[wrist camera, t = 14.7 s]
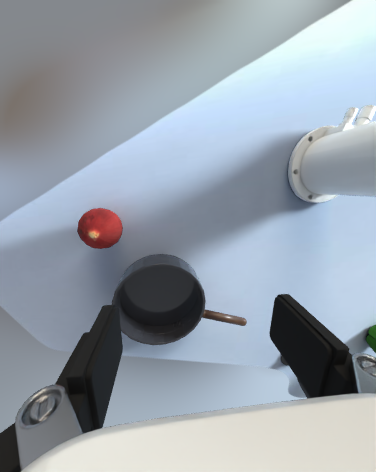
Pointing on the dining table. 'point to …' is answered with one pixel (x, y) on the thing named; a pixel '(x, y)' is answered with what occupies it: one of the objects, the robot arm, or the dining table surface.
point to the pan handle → (224, 317)
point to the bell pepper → (372, 338)
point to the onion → (100, 228)
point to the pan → (159, 300)
